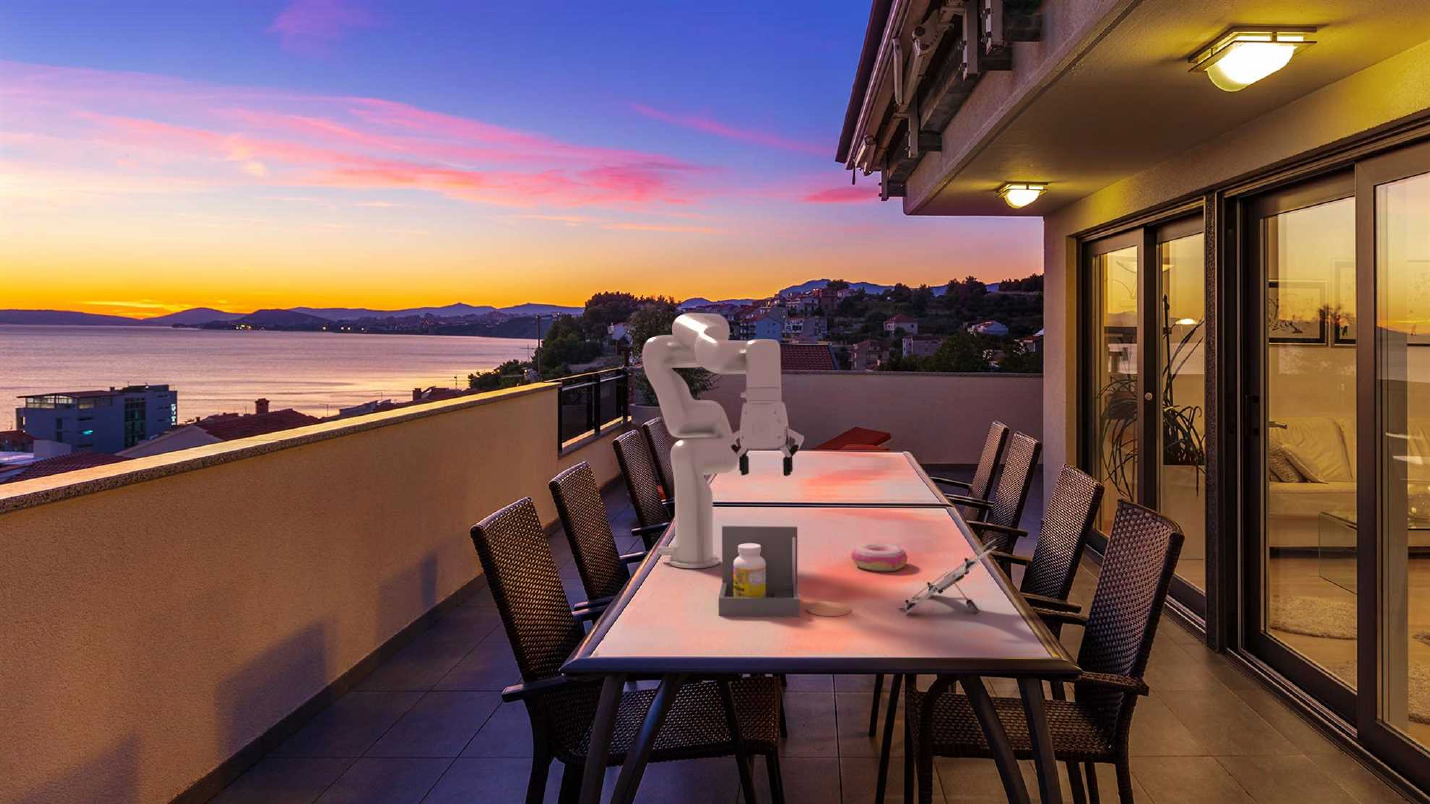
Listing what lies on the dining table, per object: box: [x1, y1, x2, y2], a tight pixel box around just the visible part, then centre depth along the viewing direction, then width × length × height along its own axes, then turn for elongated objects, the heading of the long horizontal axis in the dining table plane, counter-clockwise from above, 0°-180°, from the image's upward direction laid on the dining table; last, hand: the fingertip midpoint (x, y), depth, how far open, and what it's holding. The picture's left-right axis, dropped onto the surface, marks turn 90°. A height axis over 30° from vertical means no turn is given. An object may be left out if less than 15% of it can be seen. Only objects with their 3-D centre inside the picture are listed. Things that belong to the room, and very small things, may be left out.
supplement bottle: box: [734, 543, 766, 597], centre depth 171 cm, size 7×7×13 cm
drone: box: [898, 538, 997, 615], centre depth 168 cm, size 23×23×10 cm
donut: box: [851, 542, 908, 572], centre depth 205 cm, size 14×13×5 cm
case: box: [718, 525, 800, 618], centre depth 171 cm, size 16×13×16 cm
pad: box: [805, 601, 851, 617], centre depth 169 cm, size 9×9×1 cm
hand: (765, 475), depth 181 cm, fingers open, 9 cm apart
